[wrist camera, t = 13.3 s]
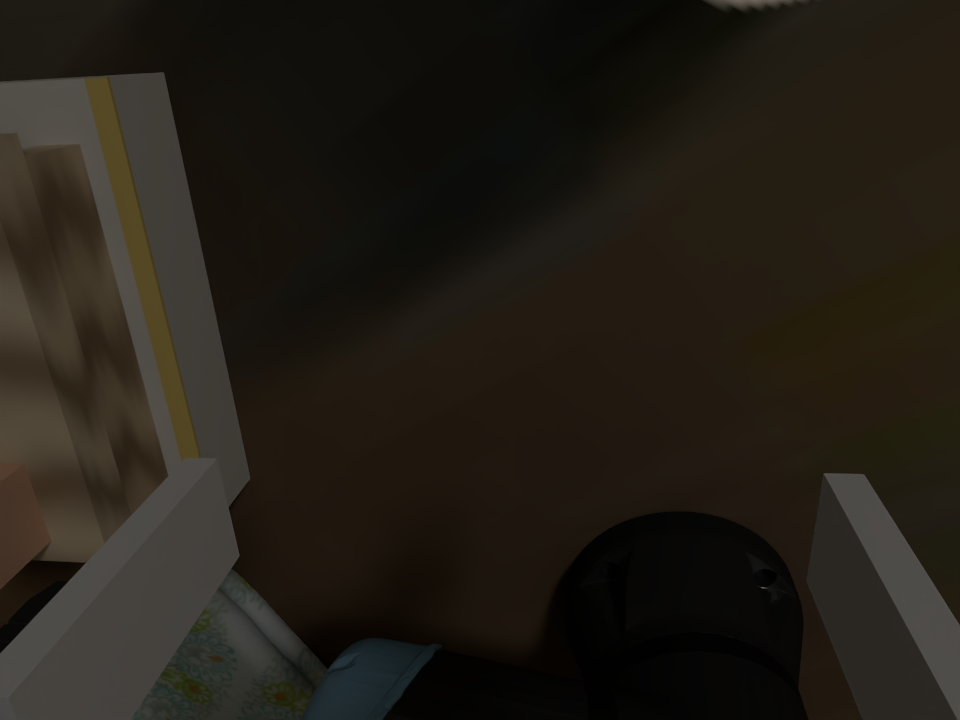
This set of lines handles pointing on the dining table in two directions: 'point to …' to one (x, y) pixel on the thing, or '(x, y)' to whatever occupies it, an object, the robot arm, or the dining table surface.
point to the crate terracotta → (18, 522)
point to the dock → (146, 250)
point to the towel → (235, 664)
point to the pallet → (68, 356)
